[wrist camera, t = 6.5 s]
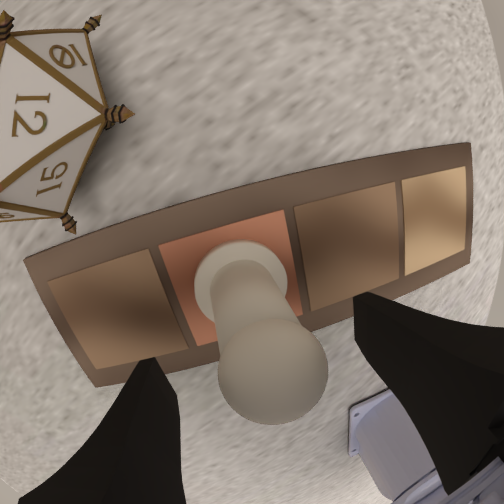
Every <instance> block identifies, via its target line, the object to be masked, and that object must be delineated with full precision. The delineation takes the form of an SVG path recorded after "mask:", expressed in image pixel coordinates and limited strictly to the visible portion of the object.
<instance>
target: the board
mask: <svg viewBox="0 0 504 504" xmlns="http://www.w3.org/2000/svg"><path fill="white" fill-rule="evenodd" d="M472 226H473V169H472V153H471V143H469V142H466V143H458V144H450V145H442V146H435V147H428V148H422V149H415V150H409V151H403V152H397V153H391V154H385V155H379V156H374V157H368V158H363V159H358V160H353V161H348V162H343V163H338V164H333V165H328V166H324V167H319V168H314V169H310V170H305V171H301V172H297V173H292V174H288V175H284V176H280V177H275V178H271V179H267V180H263V181H259V182H255V183H252V184H248V185H244V186H240V187H236V188H232V189H229V190H225V191H221V192H218V193H214V194H211V195H207V196H204V197H200V198H197V199H193V200H190V201H186V202H183V203H180V204H176V205H173V206H170V207H167V208H163V209H160V210H157V211H154V212H151V213H148V214H144V215H141V216H138V217H135V218H132V219H129V220H126V221H123V222H120V223H117V224H114V225H112V226H109V227H106V228H103V229H100V230H97V231H94V232H92V233H89V234H86V235H83V236H81V237H78V238H75V239H73V240H70V241H67V242H65V243H62V244H59V245H57V246H54V247H52V248H49V249H47V250H44V251H42V252H39V253H37V254H34V255H32V256H29V257H27V258H25V259H24V260H23V261H24V263H25V265H26V268H27V270H28V272H29V274H30V277H31V279H32V281H33V283H34V285H35V287H36V289H37V291H38V293H39V295H40V297H41V299H42V301H43V303H44V305H45V307H46V309H47V311H48V313H49V315H50V317H51V318H52V320H53V322H54V324H55V326H56V327H57V329H58V331H59V332H60V334H61V336H62V338H63V339H64V341H65V343H66V344H67V346H68V347H69V349H70V351H71V352H72V354H73V355H74V357H75V358H76V360H77V362H78V363H79V365H80V366H81V368H82V369H83V371H84V372H85V373H86V375H87V376H88V378H89V379H90V381H91V382H92V383H93V385H94V386H95V388H96V387H103V386H108V385H114V384H120V383H125V382H127V380H128V378H129V377H130V375H131V373H132V372H133V370H134V368H135V367H136V365H137V363H138V362H139V360H143V359H148V358H152V357H155V358H156V359H157V361H158V363H159V365H160V367H161V369H162V370H163V372H164V374H168V373H172V372H177V371H181V370H185V369H189V368H193V367H197V366H201V365H205V364H209V363H212V362H216V361H219V359H220V351H219V345H218V339H217V333H216V327H215V323H214V322H213V321H211V320H210V319H209V318H207V317H206V316H205V315H204V314H203V312H202V311H201V309H200V308H199V306H198V304H197V301H196V298H195V288H194V278H195V273H196V270H197V267H198V265H199V263H200V261H201V260H202V258H203V257H204V256H205V255H206V254H207V253H208V252H209V251H210V250H211V249H213V248H214V247H215V246H217V245H219V244H221V243H223V242H226V241H230V240H234V239H248V240H253V241H257V242H259V243H262V244H264V245H265V246H267V247H268V248H269V249H270V250H272V251H273V253H274V254H275V255H276V256H277V257H278V259H279V260H280V262H281V263H282V265H283V266H284V269H285V271H286V275H287V291H286V295H285V299H286V300H287V302H288V304H289V305H290V307H291V309H292V310H293V312H294V314H295V315H296V317H297V319H298V320H299V322H300V323H301V325H302V326H303V327H304V328H306V329H307V330H308V331H310V332H312V331H315V330H318V329H321V328H323V327H326V326H329V325H331V324H334V323H337V322H339V321H342V320H345V319H347V318H350V317H352V316H354V312H353V297H354V296H356V295H359V294H362V293H364V292H371V293H374V294H376V295H379V296H382V297H384V298H387V299H390V300H394V299H396V298H398V297H400V296H403V295H405V294H407V293H409V292H412V291H414V290H416V289H418V288H420V287H422V286H425V285H427V284H429V283H431V282H433V281H435V280H437V279H439V278H441V277H443V276H445V275H447V274H449V273H451V272H453V271H455V270H457V269H459V268H461V267H463V266H465V265H467V264H469V263H470V255H471V243H472Z"/></svg>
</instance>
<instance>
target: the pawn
mask: <svg viewBox="0 0 504 504" xmlns="http://www.w3.org/2000/svg"><path fill="white" fill-rule="evenodd" d="M194 288H195V298H196V301H197V304H198V306H199V308H200V309H201V311H202V312H203V314H204V315H205V316H206V317H207V318H209V319H210V320H211V321H213V322H214V323H215V327H216V333H217V339H218V345H219V351H220V359H219V364H218V381H219V385H220V389H221V392H222V394H223V396H224V398H225V399H226V401H227V402H228V404H229V405H230V406H231V407H232V408H233V409H234V410H235V411H236V412H237V413H238V414H240V415H241V416H243V417H244V418H246V419H248V420H251V421H253V422H256V423H260V424H267V425H278V424H284V423H288V422H291V421H294V420H296V419H298V418H300V417H302V416H304V415H305V414H306V413H308V412H309V411H310V410H311V409H312V408H313V407H314V406H315V405H316V404H317V403H318V401H319V400H320V398H321V396H322V394H323V392H324V390H325V387H326V384H327V379H328V363H327V358H326V355H325V352H324V350H323V348H322V346H321V344H320V343H319V341H318V340H317V339H316V337H315V336H314V335H313V334H312V333H311V332H310V331H308V330H307V329H306V328H304V327H303V326H302V325H301V323H300V322H299V320H298V319H297V317H296V315H295V314H294V312H293V310H292V309H291V307H290V305H289V304H288V302H287V300H286V299H285V295H286V291H287V275H286V271H285V269H284V266H283V265H282V263H281V262H280V260H279V259H278V257H277V256H276V255H275V254H274V253H273V251H272V250H270V249H269V248H268V247H267V246H265V245H264V244H262V243H259V242H257V241H253V240H248V239H234V240H230V241H226V242H223V243H221V244H219V245H217V246H215V247H214V248H213V249H211V250H210V251H209V252H208V253H207V254H206V255H205V256H204V257H203V258H202V260H201V261H200V263H199V265H198V267H197V270H196V273H195V278H194Z"/></svg>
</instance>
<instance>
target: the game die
mask: <svg viewBox="0 0 504 504" xmlns="http://www.w3.org/2000/svg"><path fill="white" fill-rule="evenodd" d="M100 19H101V15H99V16H95V17H90V18H89V21H88V22H87V21H86V22H85V26H84V27H83V28H82V29H43V30H28V31H17V32H10V31H11V29H12V28H13V27H14V25H13V24H12V21H13V20H14V17H11V16H9V15H8V14H7V13H6V12H5V11H4V10H3V12H2V13H1V15H0V222H11V221H23V220H36V219H50V218H60V219H61V220H62V226H64V227H65V231H69V232H71V233H73V234H76V223H77V221H74V219H73V218H74V217H73V216H72V217H71V216H70V215H69V214H68V212H67V211H68V208H69V206H70V203H71V200H72V198H73V195H74V193H75V190H76V188H77V185H78V183H79V180H80V178H81V176H82V173H83V171H84V169H85V166H86V164H87V162H88V160H89V157H90V155H91V153H92V151H93V149H94V147H95V145H96V143H97V140H98V138H99V136H100V134H101V132H102V130H103V129H105V130H108V129H110V128H111V126H113V125H115V124H114V123H115V122H119V123H120V124H121V123H123V122H125V121H126V119H127V118H129V117H131V116H133V115H135V113H133V112H132V111H130V110H129V109H127V108H126V107H125V105H124V104H122V105H121V106H117V105H115V106H114V107H113V108H110V109H109V108H108V104H107V101H106V98H105V95H104V92H103V88H102V85H101V82H100V78H99V75H98V71H97V68H96V64H95V60H94V57H93V53H92V49H91V45H90V41H89V37H88V33H89V32H91V31H92V30H95V28H96V27H97V26H100V24H99V23H100Z"/></svg>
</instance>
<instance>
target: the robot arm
mask: <svg viewBox="0 0 504 504" xmlns="http://www.w3.org/2000/svg"><path fill="white" fill-rule="evenodd" d="M353 312H354V335H355V341H356V343H357V345H358V346H359V348H360V350H361V352H362V353H363V355H364V357H365V358H366V360H367V361H368V362H369V364H370V365H371V366H372V368H373V369H374V370H375V371H376V373H377V374H378V375H379V376H380V378H381V379H382V380H383V381H384V383H385V384H386V385H387V386H388V388H389V390H387V391H385V392H383V393H381V394H379V395H377V396H374V397H372V398H370V399H368V400H366V401H364V402H362V403H359V404H357V405H355V406H353V407H352V408H351V409H350V421H349V450H348V454H349V456H350V457H352V456H355V455H357V454H359V455H360V457H361V459H362V460H363V462H364V464H365V466H366V468H367V469H368V471H369V473H370V475H371V477H372V478H373V480H374V482H375V484H376V486H377V487H378V489H379V491H380V492H381V494H382V495H383V496H385V497H386V498H388V499H390V500H392V501H393V503H391V504H504V328H503V327H489V326H480V325H473V324H467V323H463V322H458V321H453V320H449V319H445V318H441V317H438V316H435V315H431V314H428V313H425V312H422V311H419V310H416V309H413V308H411V307H408V306H405V305H403V304H400V303H397V302H395V301H392V300H390V299H387V298H384V297H382V296H379V295H376V294H374V293H371V292H364V293H362V294H359V295H356V296H354V297H353ZM18 504H186V499H185V494H184V489H183V483H182V474H181V442H180V414H179V407H178V400H177V394H176V393H175V391H174V389H173V388H172V386H171V384H170V383H169V381H168V379H167V377H166V376H165V374H164V372H163V370H162V369H161V367H160V365H159V363H158V361H157V359H156V358H155V357H152V358H148V359H143V360H139V362H138V363H137V365H136V367H135V368H134V370H133V372H132V373H131V375H130V377H129V378H128V380H127V382H126V383H125V385H124V387H123V388H122V390H121V392H120V393H119V395H118V397H117V398H116V400H115V402H114V403H113V405H112V406H111V408H110V409H109V411H108V412H107V414H106V415H105V417H104V418H103V420H102V421H101V423H100V424H99V426H98V427H97V428H96V430H95V431H94V432H93V434H92V435H91V436H90V437H89V438H88V440H87V441H86V442H85V443H84V445H83V446H82V447H81V448H80V449H79V450H78V451H77V452H76V453H75V454H74V455H73V456H72V457H71V458H70V459H69V460H68V461H67V462H66V464H65V465H63V466H62V467H61V468H60V469H59V470H58V471H57V472H56V473H55V474H53V475H52V476H51V477H50V478H48V479H47V480H46V481H45V482H43V483H42V484H41V485H39V486H38V487H36V488H35V489H33V490H32V491H30V492H29V493H27V494H26V495H24V496H23V497H21V498H20V499H19V501H18Z"/></svg>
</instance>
